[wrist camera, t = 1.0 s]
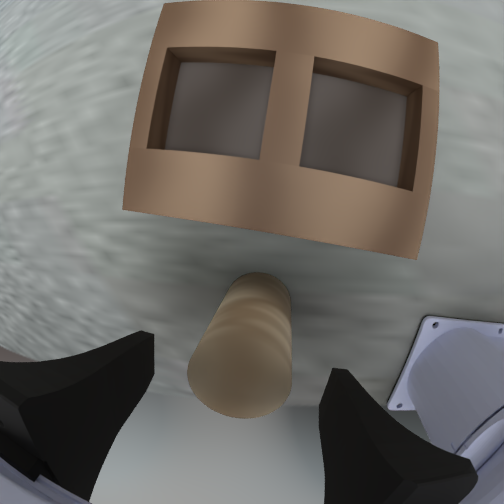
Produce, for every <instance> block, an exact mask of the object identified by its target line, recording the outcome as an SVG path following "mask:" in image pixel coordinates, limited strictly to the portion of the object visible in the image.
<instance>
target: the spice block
mask: <svg viewBox="0 0 504 504" xmlns="http://www.w3.org/2000/svg"><path fill="white" fill-rule="evenodd" d="M438 116H439V52H438V42H435V41H433V40H430V39H428V38H425V37H423V36H420V35H418V34H415V33H412V32H409V31H407V30H404V29H401V28H398V27H395V26H392V25H388V24H385V23H382V22H378V21H375V20H371V19H368V18H364V17H360V16H356V15H352V14H347V13H343V12H338V11H333V10H328V9H323V8H317V7H311V6H304V5H297V4H289V3H279V2H267V1H251V0H202V1H185V2H174V3H164V5H163V8H162V11H161V14H160V17H159V21H158V24H157V27H156V30H155V34H154V37H153V40H152V44H151V48H150V51H149V55H148V59H147V63H146V67H145V71H144V75H143V79H142V83H141V88H140V92H139V97H138V102H137V107H136V112H135V117H134V123H133V129H132V135H131V141H130V147H129V154H128V162H127V169H126V178H125V187H124V197H123V208H122V210H128V211H135V212H142V213H148V214H155V215H162V216H168V217H175V218H182V219H188V220H194V221H201V222H207V223H213V224H220V225H226V226H232V227H238V228H244V229H250V230H256V231H262V232H268V233H274V234H279V235H285V236H291V237H297V238H302V239H308V240H313V241H319V242H325V243H330V244H336V245H341V246H346V247H352V248H357V249H362V250H368V251H373V252H378V253H383V254H388V255H394V256H399V257H404V258H409V259H414V260H417V257H418V253H419V248H420V244H421V240H422V235H423V230H424V226H425V221H426V215H427V210H428V205H429V199H430V192H431V186H432V179H433V172H434V164H435V155H436V144H437V132H438Z"/></svg>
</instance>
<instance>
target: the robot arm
mask: <svg viewBox="0 0 504 504" xmlns="http://www.w3.org/2000/svg"><path fill="white" fill-rule="evenodd" d="M435 322H436V325H435V326H432V325H433V323H435ZM499 329H500V330H499ZM154 374H155V373H154V334H152V333H148V332H144V331H138V332H135V333H133V334H130V335H128V336H126V337H123V338H121V339H119V340H116V341H114V342H111V343H109V344H107V345H104V346H102V347H99V348H96V349H93V350H90V351H87V352H85V353H81V354H78V355H74V356H70V357H66V358H61V359H55V360H48V361H41V362H3V361H0V504H92V503H90V502H89V500H90V497H91V494H92V491H93V488H94V485H95V483H96V480H97V478H98V475H99V472H100V470H101V468H102V465H103V463H104V461H105V459H106V456H107V454H108V452H109V450H110V448H111V446H112V444H113V442H114V440H115V438H116V436H117V434H118V432H119V431H120V429H121V427H122V426H123V424H124V423H125V421H126V420H127V419H128V417H129V416H130V414H131V413H132V411H133V410H134V408H135V407H136V405H137V404H138V403H139V401H140V400H141V398H142V397H143V395H144V394H145V392H146V390H147V388H148V386H149V384H150V382H151V380H152V378H153V376H154ZM400 403H401V404H400ZM398 404H399V405H398ZM387 407H388V409H389V410H416V411H417V413H418V415H419V417H420V419H421V422H422V424H423V426H424V428H425V430H426V432H427V434H428V437H429V439H430V441H431V443H429V442H427V441H425V440H423V439H422V438H420V437H419V436H417V435H415V434H414V433H412V432H411V431H409V430H408V429H406V428H405V427H404V426H403V425H401V424H400V423H399V422H397V421H396V420H395V419H394V418H392V417H391V416H390V415H389V414H388V413H387V412H386V411H385V410H384V409H383V408H382V407H381V406H380V405H379V404H378V403H377V402H376V401H375V400H374V399H373V398H372V397H371V396H370V395H369V394H368V393H367V391H366V390H365V389H364V388H363V387H362V386H361V384H360V383H359V382H358V381H357V380H356V379H355V378H354V376H353V375H352V374H351V373H350V372H349V371H348V370H347V369H338V368H332V371H331V374H330V377H329V380H328V383H327V385H326V388H325V391H324V394H323V396H322V399H321V402H320V404H319V431H320V439H321V447H322V454H323V462H324V471H325V498H324V504H504V324H502V323H491V322H481V321H472V320H462V319H453V318H444V317H436V316H427V317H425V318H424V319H423V321H422V323H421V326H420V329H419V332H418V334H417V337H416V339H415V342H414V345H413V347H412V350H411V352H410V355H409V357H408V359H407V362H406V364H405V366H404V369H403V371H402V373H401V375H400V378H399V380H398V382H397V384H396V386H395V388H394V391H393V393H392V395H391V397H390V399H389V401H388V403H387Z"/></svg>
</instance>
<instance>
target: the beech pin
mask: <svg viewBox="0 0 504 504" xmlns="http://www.w3.org/2000/svg"><path fill="white" fill-rule="evenodd" d="M187 375H188V381H189V384H190V387H191V389H192V391H193V392H194V394H195V395H196V396H197V398H198V399H199V400H200V401H201V402H202V403H204V404H205V405H206V406H207V407H209V408H210V409H212V410H214V411H216V412H218V413H220V414H223V415H226V416H229V417H235V418H256V417H261V416H264V415H267V414H269V413H271V412H273V411H275V410H276V409H278V408H279V407H280V406H281V405H282V404H283V403H284V402H285V401H286V399H287V398H288V396H289V394H290V391H291V387H292V337H291V299H290V295H289V292H288V290H287V288H286V287H285V285H284V284H283V283H282V282H281V281H280V280H278V279H277V278H276V277H274V276H272V275H269V274H266V273H260V272H254V273H249V274H245V275H243V276H241V277H239V278H238V279H237V280H235V281H234V282H233V283H232V285H231V286H230V288H229V290H228V292H227V293H226V295H225V297H224V299H223V301H222V302H221V304H220V306H219V308H218V310H217V312H216V313H215V315H214V317H213V319H212V321H211V322H210V324H209V326H208V328H207V330H206V332H205V333H204V335H203V337H202V339H201V341H200V343H199V344H198V346H197V348H196V350H195V352H194V353H193V355H192V357H191V359H190V361H189V364H188V370H187Z"/></svg>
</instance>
